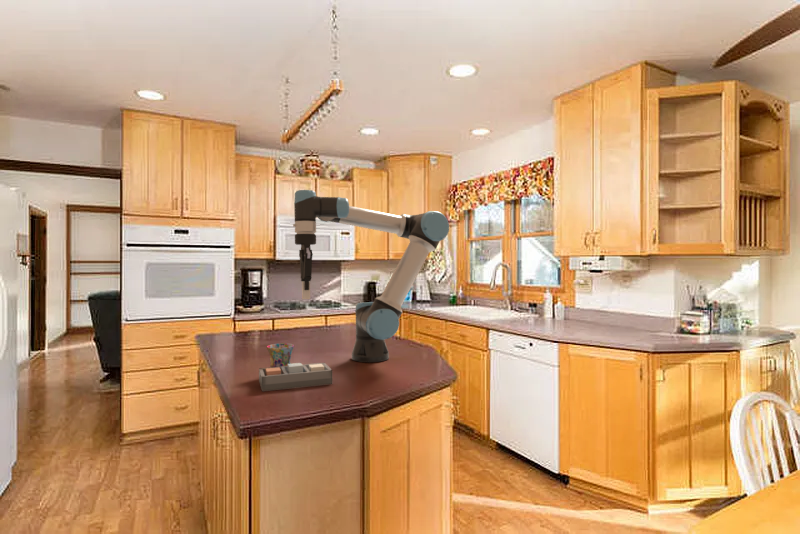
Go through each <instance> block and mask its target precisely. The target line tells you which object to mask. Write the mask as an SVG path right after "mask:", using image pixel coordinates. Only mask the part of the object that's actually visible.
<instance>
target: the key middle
mask: <svg viewBox="0 0 800 534" xmlns="http://www.w3.org/2000/svg"><path fill="white" fill-rule="evenodd" d="M287 365H288V373H289V374H290V373H300V372H303V363H301V362H295V363H291V364H287Z"/></svg>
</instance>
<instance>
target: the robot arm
mask: <svg viewBox="0 0 800 534" xmlns="http://www.w3.org/2000/svg"><path fill="white" fill-rule="evenodd" d="M293 201H294V203H293V204H294V205H293V209H294V223H293V224H292V225H293V227H294V233H296V234H294V244H295V245H297V246H298V245H299V246H300V249H299V251H298V253H299V254H298V255H299V257H298V258H299V268H300V269H299V270H300V272H299V273H300V281H301V299H302V300H311V281H312V274H313V273H312V269H313V255H314V254H313V250H312V249H311V245H312V246H313V245H316V244H317V235H316V233H317V219H318V220H320V221H321V222H324V223H325V222H330V223H331V222H332V223H337V224H343V225H348V226H354V227H359V228H363V229H369V230H375V231H380V232H383V233H384V232H385V233H390V234H396V236H397V237H398V238H403V239H407V240H409V243H408V245H407V247H406V249H405V250H404V251H403V252H404V253H403V255H402V257H401V258H400V260H399V261H398V263H397V266H396V267H395V269H394V272H393V273H392V275H391V277H390V279H389V281H388V283H387V285H386V286H385V287H384V291H383V292H382V293H381V295H379V296H377V297H375V298H374V300H373V301H369V302H366V301H365V302H357V303H356V305H355V310H354V311H355V343H354V345H353V347H352V352H351V360H352V361H354V362H358V363H359V362H360V363H379V362H384V361H388V359H389V358H390V353H389V349H388V346H387V344H386V340H387V339H390V338H392V337H393V336H394V335H396V333H397V332H398V330H399V327H400V317H401V315H402V314H403V310H402V305H403V304H404V301H405V300H406V298H407V296H408V294H409V292H410V291H411V289H412V286H413V284H414V283H415V281H416V278H417V276H418V275H419V273H420V271H421V269H422V267H423V266H424V264H425V262H426V260H427V258H428V256H429V254H430V253H431V252H435V251H436V249H437V247H438V246H439V243H440V242H441V241H442V240H444V239H445V238H446V237H447V236H448V235H449V232H450V224H449V221H448V218H447V217H446V216H445V214H443V213H442V212H440V211H436V210H430V211H429V210H428V211H426V212H424V213H419V214H405V213H402V214H400V215H397V214H392V213H387V212H382V211H377V210H373V209H367V208H364V207H363V208H361V207H357V206H351V205H350V203H349V199H348V198H347V197H339V196H338V197H337V196H336V197H335V196H332V197H331V196H327V197H326V196H318V195H317V193H316V191H315V190H310V189H299V190H296V191H295V193H294V200H293Z"/></svg>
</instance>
